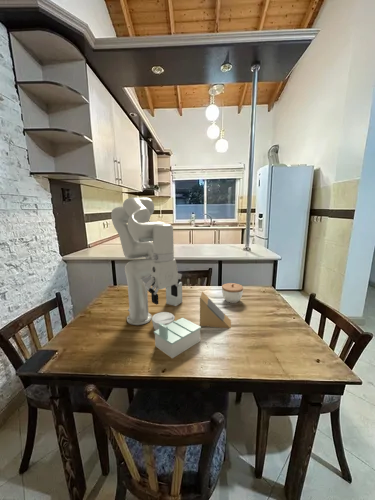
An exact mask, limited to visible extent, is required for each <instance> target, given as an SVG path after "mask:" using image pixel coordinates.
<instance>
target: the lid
mask: <svg viewBox="0 0 375 500" xmlns="http://www.w3.org/2000/svg"><path fill="white" fill-rule="evenodd" d="M199 329H200V330H201V329H202V326H200V325H199V324H196V323H194V322H192V321H191V320H189V319H186V318H184V317H181V318H179V319H177V320H174V321H173V322H172V323H170V324H168V325H164V324H162V323H160V324H159V329H158V330H153V334H154V335H155V334H156V335H157V336H159V337H160V338H162V339H163V340H165V341H166V342H168V343H169V344H171V345H173V344H175V343H177V342H178V341H180V340H182V339H184V338H185V337H187V336H189V335H191V334H192V333H194V332H196V331H198V330H199Z"/></svg>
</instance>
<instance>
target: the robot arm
mask: <svg viewBox="0 0 375 500" xmlns="http://www.w3.org/2000/svg"><path fill="white" fill-rule="evenodd" d="M154 212H155V203H154V201H153V200H152V198H149V197H137V196H136V197H133V196H132V197H128V198H126V199H125V200H124V201H123V204H122V206H117V207H115V208H113V209H112V210H111V213H110V216H111V217H110V218H111V222H112V225H113V227H114V229H115V231H116V233H117V234H118V236H119V241H120V245H121V249H122V252H123V254H124V255H123V256H124V257H125V258H126V259H128V260H130V261H128V262H127V263H126V264H125V266H124V272H125V277H126V283H127V293H128V306H129V308H128V309H127V311H128V313H129V315H128V316H126V321H127V323H128V324H129V325H133V326H141V325H145V324H147V323H150V321H152V317H153V315H152V314H151V313H150V312H149V297H148V292H149V293H150V294H151V295H150V297H151V303H153V304H154V305H159V294H158V292H159V290H163V289H166V288H167V287H169V286H171V295H173V296H175V297H177V296H178V292H177V287H178V286H179V283H180V282H181V279H182V277H183V274H182V273H179V272H178V265H177V261H176V258H175V254H174V253H175V252H174V251H175V250H174V226H173V225H172V224H171V223H167V222H164V221H150V218H151V216H152V215H153V214H154ZM146 278H150V279H149V280H148V281H147V282H145V281H144V280H143V279H146Z"/></svg>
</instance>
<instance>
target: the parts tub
mask: <svg viewBox="0 0 375 500" xmlns="http://www.w3.org/2000/svg"><path fill="white" fill-rule="evenodd" d="M200 341H201V329H199V330H198V331H196V332H194V333H192V334H191V335H189V336H187V337H185V338H184V339H182V340H180V341H178V342H177V343H175V344H173V345H171V344H169V343H168V342H166V341H165V340H163V339H162V338H160V337H159V336H157V335H156V334H154V345H155V347H156V348H158V350H160V351H161V352H163V353H164V354H166V355H167V356H168V357H170V358H171V359H174V358H175V357H177V356H178V355H180V354H182V353H184V352H185V351H187V350H188V349H190V348H192V347H193V346H195V345H197V344H198V343H199V342H200Z"/></svg>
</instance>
